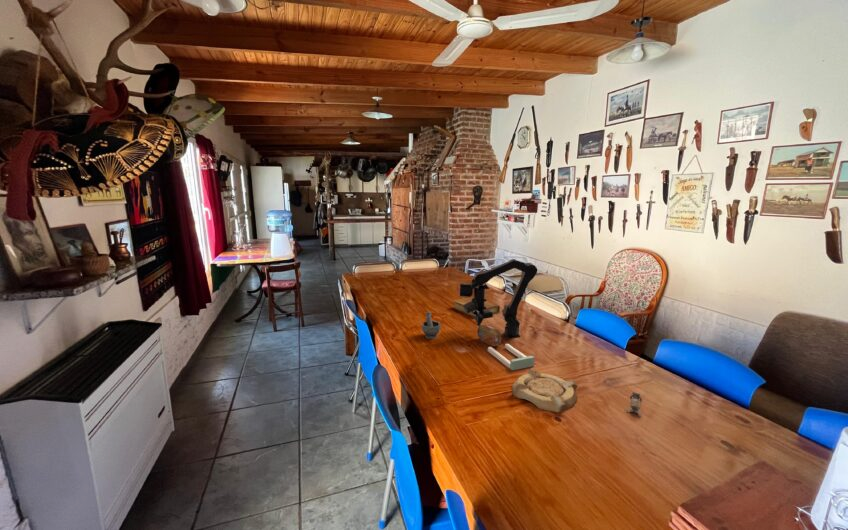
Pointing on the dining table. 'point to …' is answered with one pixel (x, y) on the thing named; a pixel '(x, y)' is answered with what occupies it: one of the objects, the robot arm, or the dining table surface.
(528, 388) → the ashtray
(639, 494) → the dining table surface
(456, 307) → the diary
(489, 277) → the robot arm
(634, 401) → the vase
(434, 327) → the mortar and pestle
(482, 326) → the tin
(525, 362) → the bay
